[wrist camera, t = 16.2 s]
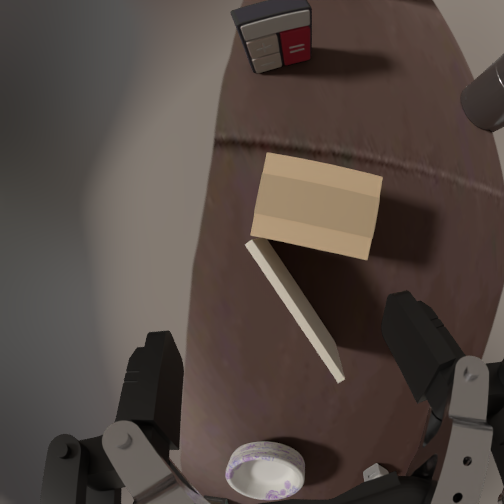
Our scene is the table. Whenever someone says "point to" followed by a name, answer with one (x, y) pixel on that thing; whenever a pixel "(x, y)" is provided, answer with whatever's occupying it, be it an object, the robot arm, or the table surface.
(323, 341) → the flap
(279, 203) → the carton
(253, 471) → the paper bowls
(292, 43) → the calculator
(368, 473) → the usb wall charger
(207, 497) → the cake mix box
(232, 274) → the table surface
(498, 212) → the table surface
